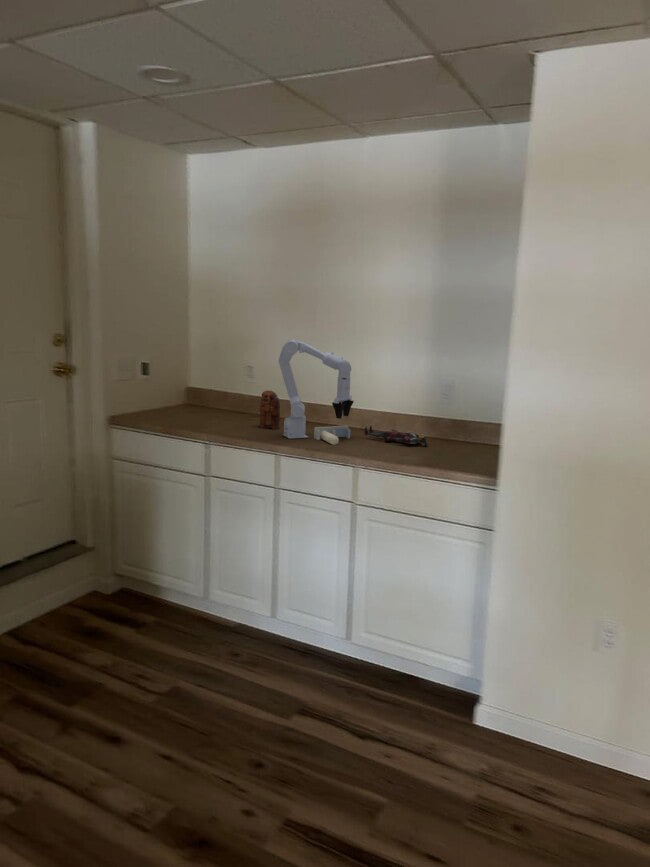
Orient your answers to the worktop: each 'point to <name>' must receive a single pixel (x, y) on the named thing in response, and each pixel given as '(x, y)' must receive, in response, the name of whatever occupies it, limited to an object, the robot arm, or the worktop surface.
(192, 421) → the worktop surface
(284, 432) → the robot arm
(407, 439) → the figurine
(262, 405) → the wooden figurine
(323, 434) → the tall cream cylinder
